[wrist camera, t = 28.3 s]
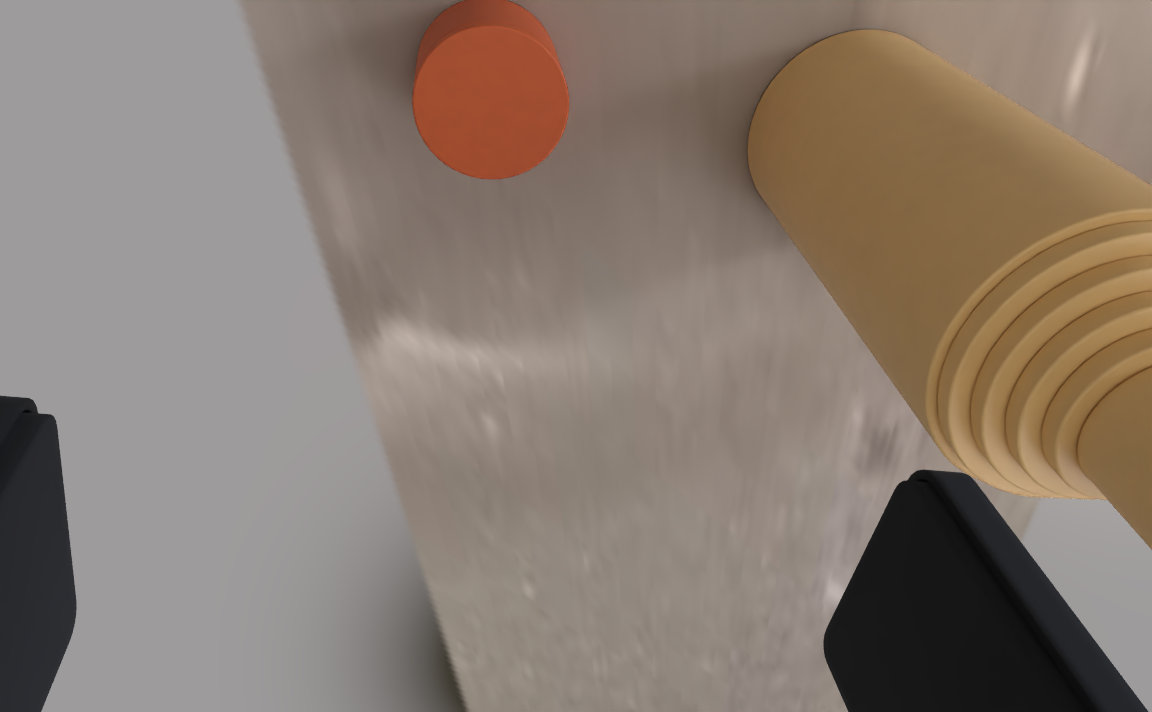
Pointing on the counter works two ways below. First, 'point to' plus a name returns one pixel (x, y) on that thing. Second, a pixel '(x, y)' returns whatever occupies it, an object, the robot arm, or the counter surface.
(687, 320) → the counter surface
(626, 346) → the counter surface
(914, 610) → the robot arm
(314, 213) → the counter surface
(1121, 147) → the counter surface
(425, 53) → the cap
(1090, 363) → the sauce bottle
